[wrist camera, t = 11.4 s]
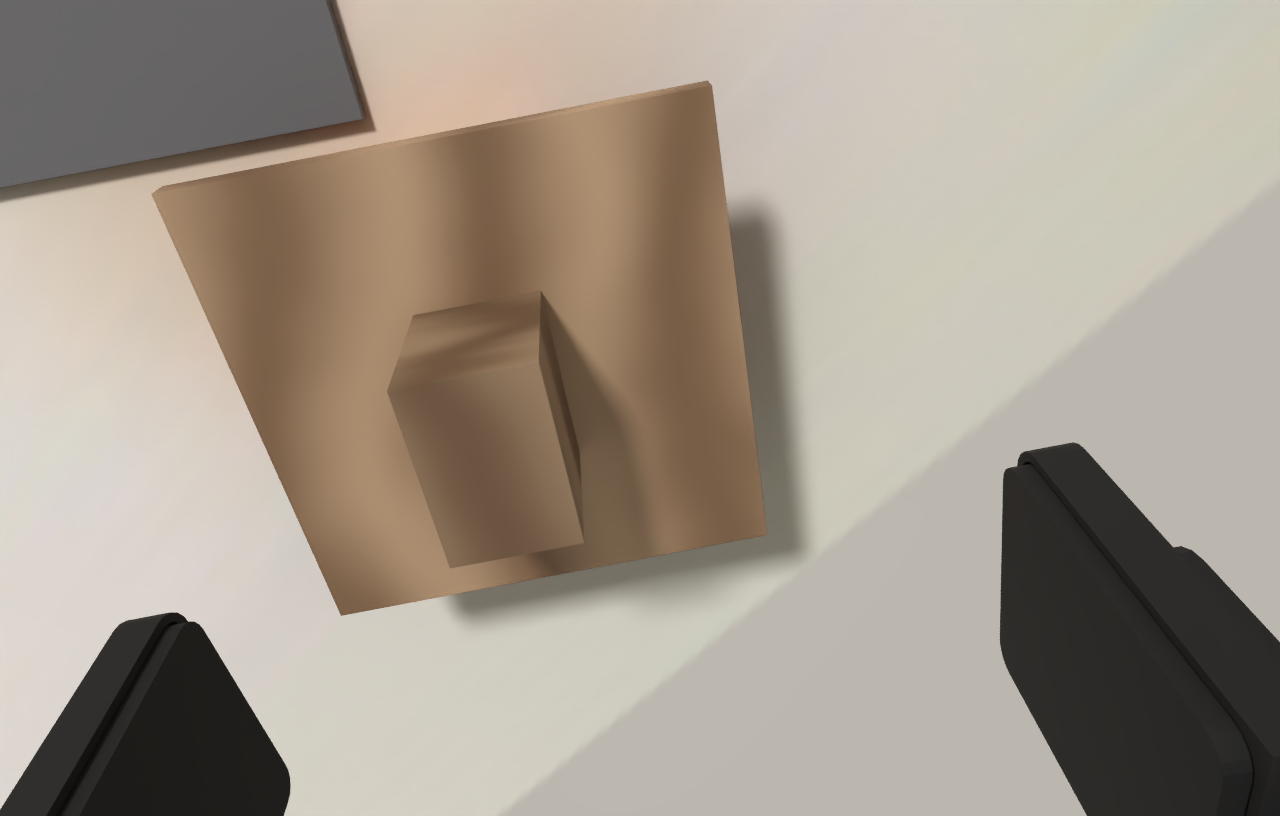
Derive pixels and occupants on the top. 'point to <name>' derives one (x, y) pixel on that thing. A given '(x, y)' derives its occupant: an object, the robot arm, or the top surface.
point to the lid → (489, 344)
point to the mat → (161, 79)
